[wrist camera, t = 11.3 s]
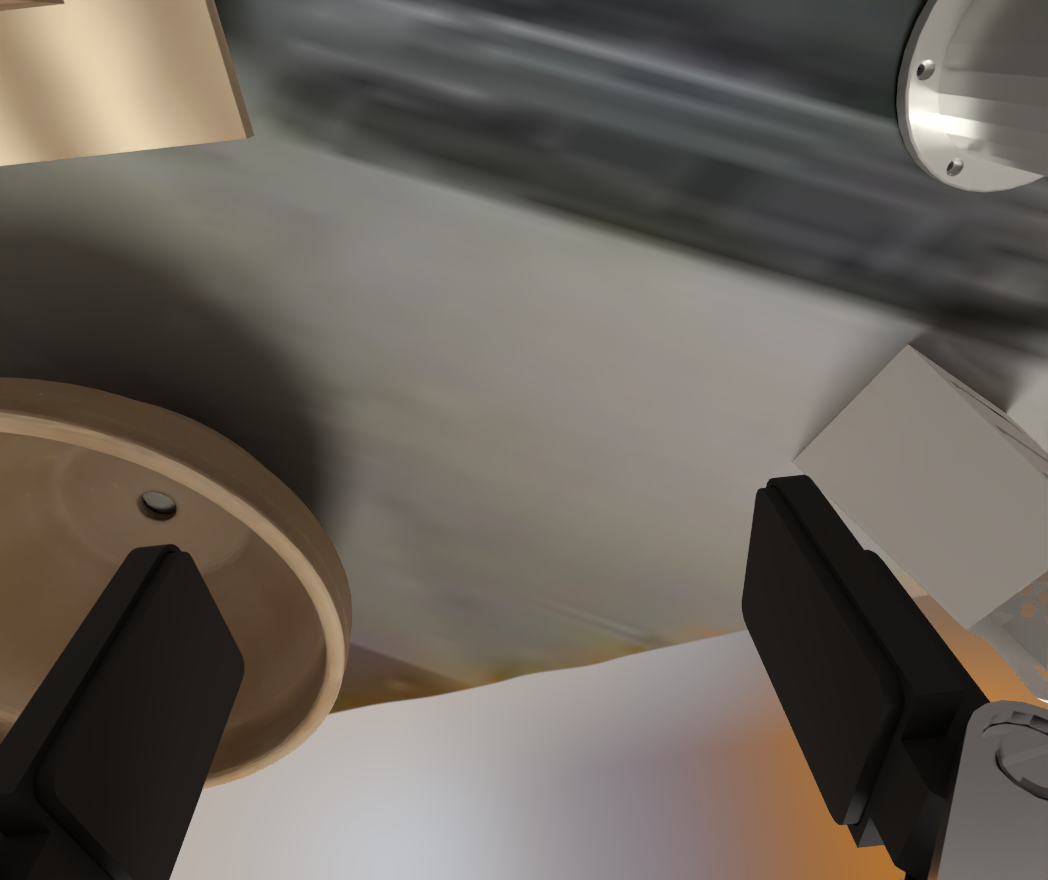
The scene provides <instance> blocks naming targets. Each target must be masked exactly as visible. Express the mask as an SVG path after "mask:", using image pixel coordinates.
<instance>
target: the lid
mask: <svg viewBox="0 0 1048 880" xmlns="http://www.w3.org/2000/svg"><path fill="white" fill-rule="evenodd" d="M253 135H254V134H253V130H252V127H251V123H250V120H249V117H248V113H247V110H246V106H245V103H244V100H243V96H242V93H241V90H240V86H239V83H238V79H237V76H236V73H235V69H234V66H233V62H232V59H231V56H230V52H229V49H228V46H227V42H226V39H225V35H224V32H223V29H222V25H221V22H220V18H219V15H218V12H217V8H216V5H215V2H214V0H0V166H5V165H14V164H23V163H32V162H41V161H50V160H59V159H68V158H77V157H86V156H95V155H104V154H113V153H121V152H130V151H139V150H148V149H157V148H166V147H175V146H184V145H193V144H202V143H211V142H220V141H229V140H238V139H247V138H249V137H251V136H253Z"/></svg>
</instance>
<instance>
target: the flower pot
mask: <svg viewBox="0 0 1048 880" xmlns="http://www.w3.org/2000/svg"><path fill="white" fill-rule="evenodd" d="M148 492H157V493H161V494H164V495H166V496H167V497H169V498H171V499H172V500H173V501H174V503H175V505H176V512H174V513H171V514H159V513H156V512H153V511H152V510H150V509H149V508H147V507H146V505H145V504H144V503H143V500H142V495H143V494H144V493H148ZM165 544H174V545H176V546H177V547H179V549H180V550H181V551H182V552H183V551H184V552H188V553H189V554H190V555H191V557H192V558H193V560H194V562H195V564H196V566H197V568H198V570H199V572H200V574H201V576H202V578H203V580H204V582H205V584H206V585H207V587H208V589H209V591H210V593H211V595H212V597H213V599H214V601H215V603H216V605H217V607H218V609H219V611H220V613H221V615H222V617H223V619H224V621H225V623H226V624H227V626H228V628H229V630H230V632H231V634H232V636H233V638H234V640H235V642H236V644H237V646H238V648H239V650H240V652H241V654H242V656H243V659H244V676H243V680H242V683H241V685H240V688H239V691H238V693H237V696H236V699H235V702H234V704H233V707H232V710H231V713H230V715H229V718H228V721H227V723H226V726H225V729H224V732H223V734H222V737H221V740H220V743H219V745H218V748H217V751H216V753H215V756H214V759H213V762H212V764H211V767H210V770H209V773H208V775H207V778H206V781H205V783H204V786H203V789H205V788H210V787H214V786H217V785H221V784H225V783H228V782H232V781H235V780H237V779H241V778H243V777H246V776H249V775H251V774H253V773H255V772H257V771H259V770H261V769H263V768H265V767H267V766H269V765H271V764H273V763H275V762H277V761H278V760H280V759H282V758H283V757H285V756H286V755H288V754H289V753H291V752H292V751H293V750H295V749H296V748H297V747H299V746H300V745H301V744H302V743H303V742H305V741H306V740H307V739H308V738H309V737H310V736H311V735H312V734H313V733H314V732H315V731H316V730H317V728H318V727H319V726H320V725H321V723H322V722H323V721H324V719H325V718H326V717H327V715H328V713H329V712H330V710H331V708H332V707H333V704H334V702H335V700H336V698H337V695H338V692H339V689H340V686H341V682H342V678H343V674H344V671H345V668H346V664H347V658H348V652H349V644H350V636H351V628H352V602H351V594H350V590H349V585H348V580H347V577H346V574H345V570H344V568H343V565H342V563H341V561H340V558H339V556H338V554H337V552H336V550H335V548H334V546H333V544H332V542H331V540H330V538H329V537H328V535H327V534H326V532H325V530H324V529H323V527H322V526H321V525H320V523H319V522H318V521H317V519H316V518H315V517H314V515H313V514H312V513H311V511H310V510H309V509H308V508H307V507H306V506H305V504H304V503H303V502H302V501H301V500H300V499H299V498H298V497H297V496H296V495H295V493H294V492H293V491H292V490H291V489H290V488H289V487H288V486H286V485H285V484H284V483H283V482H282V481H281V480H280V479H279V478H277V477H276V476H275V475H274V474H273V473H271V472H270V471H269V470H268V469H266V468H265V467H264V466H263V465H262V464H261V463H260V462H259V461H258V460H256V459H255V458H254V457H253V456H251V455H250V454H249V453H248V452H247V451H245V450H244V449H243V448H241V447H240V446H239V445H237V444H236V443H234V442H233V441H231V440H230V439H228V438H227V437H225V436H223V435H222V434H220V433H219V432H217V431H215V430H213V429H211V428H209V427H207V426H205V425H203V424H202V423H200V422H198V421H195V420H193V419H191V418H188V417H186V416H184V415H181V414H179V413H177V412H174V411H171V410H168V409H165V408H162V407H159V406H155V405H152V404H149V403H145V402H141V401H137V400H134V399H130V398H127V397H124V396H121V395H117V394H113V393H110V392H106V391H102V390H98V389H94V388H89V387H84V386H79V385H74V384H69V383H61V382H54V381H47V380H38V379H26V378H1V377H0V744H1V743H2V741H3V740H4V738H5V737H6V735H7V734H8V732H9V731H10V729H11V728H12V726H13V725H14V723H15V722H16V720H17V719H18V717H19V716H20V714H21V713H22V711H23V710H24V708H25V707H26V705H27V704H28V702H29V701H30V699H31V698H32V696H33V695H34V694H35V692H36V691H37V689H38V688H39V686H40V685H41V683H42V682H43V680H44V679H45V677H46V676H47V674H48V673H49V671H50V670H51V668H52V667H53V665H54V664H55V662H56V661H57V659H58V658H59V656H60V655H61V653H62V652H63V650H64V649H65V647H66V646H67V644H68V643H69V641H70V640H71V639H72V637H73V636H74V634H75V633H76V631H77V630H78V628H79V627H80V625H81V624H82V622H83V621H84V619H85V618H86V616H87V615H88V613H89V612H90V610H91V609H92V607H93V606H94V604H95V603H96V601H97V600H98V598H99V597H100V595H101V594H102V592H103V591H104V589H105V588H106V586H107V585H108V584H109V582H110V581H111V579H112V578H113V576H114V575H115V573H116V572H117V570H118V569H119V567H120V566H121V564H122V563H123V561H124V560H125V558H126V557H127V555H128V554H129V553H130V552H131V551H132V550H133V549H135V548H138V547H147V546H156V545H165Z"/></svg>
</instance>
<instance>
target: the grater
mask: <svg viewBox="0 0 1048 880" xmlns="http://www.w3.org/2000/svg"><path fill="white" fill-rule="evenodd" d="M951 381H952V382H954V383H956V384H957V385H959V386H960V387H962V388H963V389H964V390H966V391H967V392H969V393H970V394H972V395H973V396H974V397H976V398H977V399H979V400H980V401H982V402H983V403H984V404H986V405H987V406H989V407H990V408H992V409H993V410H994V411H996V412H997V413H999V414H1000V415H1001V416H1003V417H1000V416H999V415H998V414H996V413H995V412H993V411H992V410H990V409H989V408H988V407H986V406H985V405H983V404H982V403H980V402H979V401H978V400H976V399H975V398H973V397H972V396H970V395H969V394H967V393H966V392H965V391H963V390H962V389H959V388H957V387H956V386H955V385H954V384H953V383H952V382H951ZM792 462H793V463H794V464H795V465H796V466H797V467H798V468H799V469H800V470H801V471H802V472H803V473H804V474H805V475H807V476H809V477H810V478H811V479H812V480H813V481H814V483H815V484H816V485H817V486H818V487H819V488H820V489H821V490H822V491H823V492H824V493H825V494H826V495H827V496H828V497H829V498H830V499H831V500H832V501H833V502H834V503H835V504H836V505H837V506H838V507H839V508H840V509H841V510H842V511H843V512H845V513H846V514H847V515H848V516H849V517H850V518H851V519H852V520H853V521H854V522H855V523H856V524H857V525H858V526H859V527H860V528H861V529H862V530H863V531H864V532H865V533H866V534H867V535H868V536H869V537H870V538H871V539H872V540H874V541H875V542H876V543H877V544H878V545H879V546H880V547H881V548H882V549H883V550H884V551H885V552H886V553H887V554H888V555H889V556H890V557H891V558H892V559H893V560H894V561H895V562H896V563H897V564H898V565H899V566H900V567H901V568H903V569H904V570H905V571H906V572H907V573H908V574H909V575H910V576H911V577H912V578H913V579H914V580H915V581H916V582H917V583H918V584H919V585H920V586H921V587H922V588H923V589H924V590H925V591H926V592H927V593H928V594H929V595H930V596H932V597H933V598H934V599H935V600H936V601H937V602H938V603H939V604H940V605H941V606H942V607H943V608H944V609H945V610H946V611H947V612H948V613H949V614H950V615H951V616H952V617H953V618H954V619H955V620H956V621H958V623H959V624H961V625H962V626H963V627H964V628H965V629H966V630H967V631H969V632H971V633H973V634H975V635H977V636H979V637H981V638H983V639H985V640H987V641H989V642H990V644H991V645H992V646H993V647H994V648H995V649H996V651H997V652H998V653H999V654H1000V655H1001V657H1002V658H1003V659H1004V660H1005V661H1006V663H1007V664H1008V665H1009V666H1010V667H1011V669H1012V670H1013V671H1014V672H1015V673H1016V675H1017V676H1018V677H1019V678H1020V679H1021V681H1022V682H1023V683H1024V684H1025V685H1026V687H1027V688H1028V689H1029V690H1030V691H1031V693H1032V694H1033V695H1034V696H1035V697H1036V698H1038V699H1040V700H1042V701H1044V702H1046V703H1048V682H1047V680H1046V679H1045V678H1044V677H1043V676H1042V675H1041V674H1040V673H1039V671H1038V670H1037V669H1036V668H1035V667H1034V666H1033V664H1034V665H1036V666H1038V667H1040V668H1042V669H1044V670H1046V671H1048V624H1047V622H1046V617H1047V615H1048V605H1043V604H1041V603H1040V602H1039V601H1038V595H1039V593H1040V592H1042V591H1044V590H1048V581H1046V582H1044V583H1039V582H1037V581H1035V580H1036V579H1037V578H1038V577H1040V576H1041V575H1042V574H1044V573H1045V572H1047V571H1048V454H1047V453H1046V452H1045V451H1044V450H1043V449H1042V448H1041V447H1040V446H1039V445H1038V444H1037V443H1036V442H1035V441H1034V440H1033V439H1032V438H1031V437H1030V436H1029V435H1028V434H1027V433H1026V432H1025V431H1024V430H1023V429H1022V428H1021V427H1019V426H1018V425H1017V424H1016V423H1015V422H1014V421H1013V420H1012V419H1011V418H1010V417H1009V416H1008V415H1007V414H1006V413H1005V412H1003V411H1002V410H1000V409H999V408H998V407H996V406H995V405H993V404H992V403H990V402H989V401H988V400H986V399H985V398H983V397H982V396H981V395H979V394H978V393H976V392H975V391H973V390H972V389H971V388H969V387H968V386H966V385H965V384H964V383H962V382H961V381H959V380H958V379H956V378H955V377H954V376H952V375H951V374H949V373H948V372H947V371H945V370H944V369H942V368H941V367H939V366H938V365H937V364H935V363H934V362H932V361H931V360H930V359H928V358H927V357H925V356H924V355H922V354H921V353H920V352H918V351H917V350H915V349H914V348H913V347H911V346H910V345H908V344H907V345H906V346H905V347H904V348H903V349H902V350H901V351H900V352H899V353H898V354H897V355H896V356H895V357H894V358H893V359H892V360H891V361H890V363H889V364H888V365H887V366H886V367H885V368H884V369H883V370H882V371H881V372H880V373H879V374H878V375H877V376H876V377H875V378H874V379H873V380H872V381H871V382H870V383H869V384H868V385H867V386H866V387H865V388H864V389H863V390H862V391H861V392H860V393H859V394H858V395H857V396H856V397H855V398H854V399H853V400H852V401H851V402H850V403H849V404H848V405H847V406H846V407H845V408H844V409H843V410H842V411H841V412H840V413H839V414H838V416H837V417H836V418H835V419H834V420H833V421H832V422H831V423H830V424H829V425H828V426H827V427H826V428H825V429H824V430H823V431H822V432H821V433H820V434H819V435H818V436H817V437H816V438H815V439H814V440H813V441H812V442H811V443H810V444H809V445H808V446H807V447H806V448H805V449H804V450H803V451H802V452H801V453H800V454H799V455H798V456H797V457H796V458H795V459H794V460H793V461H792ZM1030 583H1032V585H1033V591H1032V592H1031V593H1030V594H1028V595H1021V594H1020V593H1019V591H1021V590H1022V589H1023V588H1025V587H1026V586H1027V585H1029V584H1030ZM1026 603H1033V604H1034V605H1036V607H1037V612H1036V614H1035V615H1034V616H1032V617H1025V616H1024V615H1022V614H1021V611H1020V610H1021V607H1022V606H1023V604H1026Z"/></svg>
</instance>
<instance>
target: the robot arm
mask: <svg viewBox="0 0 1048 880" xmlns="http://www.w3.org/2000/svg"><path fill="white" fill-rule="evenodd" d="M918 67H920V69H919V71H918V73H917V70H918ZM896 105H897V114H898V123H899V129H900V132H901V135H902V138H903V141H904V144H905V147H906V149H907V150H908V152H909V153H910V155H911V156H912V158H913V160H914V161H915V163H916V164H917V165H918V166H919V167H920V168H921V169H922V170H924V171H925V172H926V173H927V174H928V175H929V176H930V177H932V178H934V179H936V180H938V181H940V182H942V183H944V184H946V185H949V186H953V187H956V188H960V189H963V190H966V191H977V192H993V191H1002V190H1009V189H1012V188H1015V187H1019V186H1022V185H1025V184H1029V183H1031V182H1033V181H1036V180H1038V179H1040V178H1042V177H1044V176H1047V177H1048V0H928V1H927V3H926V5H925V7H924V8H923V10H922V12H921V14H920V16H919V17H918V19H917V21H916V23H915V26H914V28H913V31H912V33H911V36H910V38H909V41H908V43H907V46H906V48H905V52H904V56H903V60H902V64H901V68H900V73H899V77H898V88H897V102H896ZM742 612H743V617H744V621H745V623H746V626H747V628H748V630H749V633H750V635H751V637H752V639H753V642H754V644H755V646H756V648H757V651H758V653H759V655H760V657H761V660H762V662H763V664H764V666H765V668H766V671H767V673H768V675H769V678H770V680H771V682H772V684H773V687H774V689H775V691H776V693H777V696H778V698H779V700H780V702H781V704H782V707H783V709H784V711H785V714H786V716H787V718H788V720H789V722H790V725H791V727H792V729H793V731H794V734H795V736H796V738H797V740H798V743H799V745H800V747H801V749H802V751H803V754H804V756H805V758H806V760H807V763H808V765H809V767H810V770H811V772H812V774H813V776H814V779H815V781H816V783H817V785H818V787H819V790H820V792H821V794H822V797H823V799H824V801H825V803H826V806H827V808H828V810H829V812H830V814H831V816H832V818H833V819H834V821H835V822H836V823H837V824H839V825H846V824H847V826H848V828H849V830H850V832H851V834H852V837H853V839H854V841H855V843H856V845H857V847H858V848H859V847H868V846H877V845H885V847H886V849H887V851H888V853H889V855H890V857H891V859H892V861H893V863H894V865H895V866H896V867H898V868H900V869H901V873H900V878H899V880H1048V710H1047V709H1045V708H1041V707H1038V706H1035V705H1031V704H1028V703H1025V702H1017V701H1006V700H1001V701H997V702H991V703H990V701H989V700H988V699H987V698H986V696H985V695H984V693H983V692H982V691H981V690H980V688H979V687H978V685H977V684H976V683H975V682H974V680H973V679H972V678H971V676H970V675H969V674H968V672H967V671H966V670H965V668H964V667H963V666H962V664H961V663H960V662H959V661H958V659H957V658H956V656H955V655H954V654H953V652H952V651H951V650H950V649H949V647H948V646H947V645H946V643H945V642H944V641H943V639H942V638H941V637H940V635H939V634H938V633H937V632H936V630H935V629H934V627H933V626H932V625H931V623H930V622H929V621H928V619H927V618H926V617H925V616H924V614H923V613H922V612H921V610H920V609H919V608H918V606H917V605H916V604H915V602H914V601H913V600H912V598H911V597H910V596H909V594H908V593H907V592H906V590H905V589H904V588H903V586H902V585H901V584H900V582H899V581H898V580H897V579H896V577H895V576H894V575H893V573H892V572H891V571H890V569H889V568H888V567H887V565H886V564H885V563H884V561H883V560H882V559H881V558H880V557H879V556H878V555H877V554H876V553H874V552H872V551H870V550H864V549H863V548H862V547H861V545H860V544H859V542H858V541H857V540H856V538H855V537H854V536H853V534H852V533H851V532H850V530H849V529H848V528H847V526H846V525H845V523H844V522H843V521H842V519H841V518H840V517H839V515H838V514H837V513H836V511H835V510H834V509H833V507H832V506H831V504H830V503H829V502H828V500H827V499H826V498H825V496H824V495H823V494H822V492H821V491H820V490H819V488H818V487H817V485H816V484H815V483H814V481H813V480H812V479H811V478H810V477H809V476H807V475H798V476H788V477H779V478H772V479H769V481H768V483H767V486H766V488H760V489H758V491H757V494H756V500H755V507H754V514H753V522H752V529H751V537H750V544H749V552H748V559H747V567H746V574H745V582H744V589H743V596H742ZM243 676H244V659H243V656H242V654H241V652H240V650H239V648H238V646H237V644H236V642H235V640H234V638H233V636H232V634H231V632H230V630H229V628H228V626H227V624H226V623H225V621H224V619H223V617H222V615H221V613H220V611H219V609H218V607H217V605H216V603H215V601H214V599H213V597H212V595H211V593H210V591H209V589H208V587H207V585H206V584H205V582H204V580H203V578H202V576H201V574H200V572H199V570H198V568H197V566H196V564H195V562H194V560H193V558H192V557H191V555H190V554H189V553H188V552H184V551H183V552H182V551H181V550H180V549H179V547H177V546H176V545H174V544H165V545H156V546H147V547H138V548H135V549H133V550H132V551H131V552H130V553H129V554H128V555H127V557H126V558H125V560H124V561H123V563H122V564H121V566H120V567H119V569H118V570H117V572H116V573H115V575H114V576H113V578H112V579H111V581H110V582H109V584H108V585H107V586H106V588H105V589H104V591H103V592H102V594H101V595H100V597H99V598H98V600H97V601H96V603H95V604H94V606H93V607H92V609H91V610H90V612H89V613H88V615H87V616H86V618H85V619H84V621H83V622H82V624H81V625H80V627H79V628H78V630H77V631H76V633H75V634H74V636H73V637H72V639H71V640H70V641H69V643H68V644H67V646H66V647H65V649H64V650H63V652H62V653H61V655H60V656H59V658H58V659H57V661H56V662H55V664H54V665H53V667H52V668H51V670H50V671H49V673H48V674H47V676H46V677H45V679H44V680H43V682H42V683H41V685H40V686H39V688H38V689H37V691H36V692H35V694H34V695H33V696H32V698H31V699H30V701H29V702H28V704H27V705H26V707H25V708H24V710H23V711H22V713H21V714H20V716H19V717H18V719H17V720H16V722H15V723H14V725H13V726H12V728H11V729H10V731H9V732H8V734H7V735H6V737H5V738H4V740H3V741H2V743H1V744H0V880H169V879H170V876H171V873H172V871H173V868H174V865H175V862H176V860H177V857H178V854H179V851H180V849H181V846H182V843H183V841H184V838H185V835H186V832H187V830H188V827H189V824H190V822H191V819H192V816H193V813H194V811H195V808H196V805H197V802H198V800H199V797H200V794H201V791H202V789H203V786H204V783H205V781H206V778H207V775H208V773H209V770H210V767H211V764H212V762H213V759H214V756H215V753H216V751H217V748H218V745H219V743H220V740H221V737H222V734H223V732H224V729H225V726H226V723H227V721H228V718H229V715H230V713H231V710H232V707H233V704H234V702H235V699H236V696H237V693H238V691H239V688H240V685H241V683H242V680H243Z"/></svg>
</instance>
